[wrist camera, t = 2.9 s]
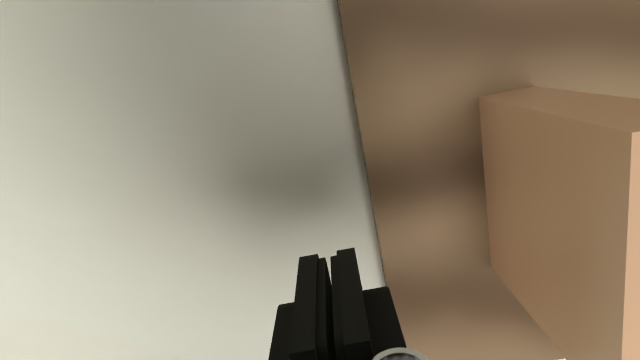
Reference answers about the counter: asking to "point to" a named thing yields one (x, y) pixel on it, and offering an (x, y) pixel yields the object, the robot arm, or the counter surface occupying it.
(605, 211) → the tile
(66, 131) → the counter surface
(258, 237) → the counter surface
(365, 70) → the board
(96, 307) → the counter surface
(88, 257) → the counter surface
